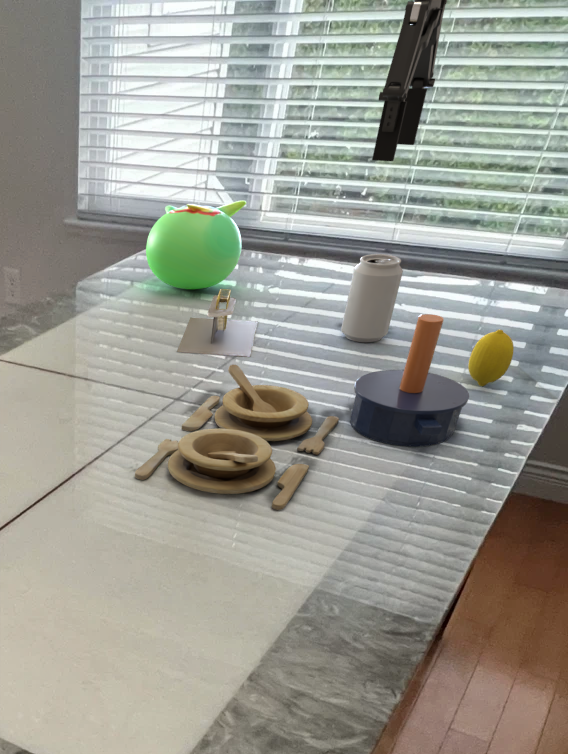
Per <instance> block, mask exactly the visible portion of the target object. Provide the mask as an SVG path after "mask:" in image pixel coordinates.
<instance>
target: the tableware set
mask: <svg viewBox="0 0 568 754" xmlns="http://www.w3.org/2000/svg"><path fill="white" fill-rule="evenodd" d="M227 371H228V374H229V375H230V376H231V378H232V379H233V380H234V381H235V382H236V384H237V385H238V386H239V387H236V388H233V389H230V390H229V391H228V392H226V393H225V394H224V395H223V397H222V405H221V406H220V407H218V408H217V409H216V410H215V413H213V412H212V411H211V410H212V409H213V408H215V407H216V406H217V405H219V403H220V399H221V398H220V396H218V395H211V396H209V397H208V398H207V399H206V400H205V401H204V402H203V403H202V404H201V405H200V406H199V407H198V408H197V409H196V410H195V411H194V412H193V413H192V414H191V415H190V416H189V417H188V418H187V419H186V420H185V421H184V422H183V423H182V424H181V430H182V431H186V432H189V433H187V434H185V435H184V436H183V437H181V438H180V439H179V440H175V439H173V440H172V439H171V438H165V439H164V440H162V441H161V442H160V443H159V444H158V445H157V452H156V453H154V455H152V456H151V457H150V458H149V459H148V460H147V461H145V462H144V463H143V464H142V465H140V466H139V467H138V468H137V469H136V470H135V472H134V478H135V479H137V480H141V481H142V480H143V481H144V480H148V479H149V477H151V476H152V474H153V473H154V472H155V471H156V469H157V468H158V467H159V466H160V464H161V463H162V462H163V461H164V460H165V459H166V458H167V457H168V456H169V458H168V460H167V469H168V473H169V474H170V475H171V476H172V478H174V479H175V480H176V481H178V482H179V483H180V484H182V485H184V486H186V487H189V488H190V489H194V490H197V491H200V492H201V491H202V492H205V493H211V494H220V495H231V494H232V495H235V494H246V493H251V492H255V491H257V490H259V489H263V488H264V487H266V486H267V485H269V484H270V483H271V482H272V481H273V479H274V478H275V475H276V470H277V468H276V464H275V462H274V461H273V459H272V458H271V457H272V455H273V447H272V446H271V445H270V443H269V442H281V441H287V440H291V439H295V438H297V437H298V438H299V437H300V436H303V435H304V434H306V433H307V432H309V430H310V429H311V428H312V425H313V418H312V416H311V414H310V413H309V412H308V410H309V405H310V404H309V403H310V402H309V401H308V399H307V398H306V396H304V395H303V394H301V393H300V392H297V391H295V390H293V389H290V388H288V387H283V386H276V385H270V384H251V382H250V381H249V379H248V378H247V375H246V374H245V373H244V371H243V370H242V368H241V367H240V366H239V365H238V364H230V365H229V366H228V369H227ZM213 416H214V422H215V424H216V425H217V426H218V427H219V428H205V429H200V428H202V427H203V426H204V425H205V424H207V422H208V421H209V420H210V419H211V418H212V417H213ZM339 421H340V418H339V417H338V416H334V415H328V416H327V417H326V418H325V419H324V421H323V422H322V423H321V424H320V427H319V428H318V429H317V430H316V432H315V434H314V436H312V437H310V438H306V439H304V440H302V441H301V443H300V444H298V446H297V447H296V450H297V451H299V452H304V451H305V453H307V454H310V453H312V454H313V455H316V456H319V454H321V452H323V450H324V449H325V446H326V445H325V442H324V441H323V440H324V439H325V438H327V437H328V435H329V434H331V432H332V431H333V430H334V428H336V427H337V425H338V424H339ZM309 468H310V465H308V464H305V463H294V464H292V465H291V466H289V467H288V468H287V469H286V470H284V472H283V473H282V475H281V476H280V478H279V479H278V480H277V482H276V483H277V486H278V487H279V488H280V489H281V491H280V492H279V493H278V494H277V495H276V496H275V497H274V499H273V500H272V502H271V508H272V509H273V510H275V511H276V510H277V511H282V510H284V508H286V506H287V505H288V503H289V502H290V500H291V498H292V497H293V495H294V494H295V492H296V491H297V489H298V487H299V486H300V484H301V483H302V481H303V480H304V478H305V477H306V475H307V473H308V472H309Z"/></svg>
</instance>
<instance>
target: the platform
mask: <svg viewBox="0 0 568 754" xmlns="http://www.w3.org/2000/svg"><path fill="white" fill-rule="evenodd" d="M222 291H224V292H225V293H226V294H227V295H225V294H223V293H222ZM231 292H232V289H224V288H220V289H219V292H218V295H217V294H215V295H213V297H212V300H211V302H210V304H209V307H208V310H207V317H208V318H205V317H189V319H188V322H187V324H186V327H185V330H184V332H183V335H182V338H181V340H180V343H179V345H178V347H177V349H176V353H187V354H188V353H189V354H202V355H203V354H204V355H205V354H206V355H219V356H234V357H246V358H247V357H251V355H252V350H253V347H254V346H253V345H254V341H255V337H256V332H257V329H258V323H259V322H258V320H244V319H243V320H241V319H228V316H231V315H233V314H234V311H235V306H236V302H237V299H236V298H235V297H231ZM221 303H222V304H223V303H224V304H226V305H225V308H220V304H221Z"/></svg>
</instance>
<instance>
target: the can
mask: <svg viewBox="0 0 568 754" xmlns="http://www.w3.org/2000/svg"><path fill="white" fill-rule="evenodd" d="M359 260H360V262H358V264H356V266H355V267H354V268H353V270H352V276H351V281H350V285H349V290H348V294H347V300H346V304H345V310H344V313H343V319H342V323H341V329H340V330H341V331H340V332H341V333H342V334H343V335H344V337H345V338H346V339H348V340H350V341H353V342H357V343H374V342H379V341H380V340H381V339H382V338H384V337H385V336H387V335H388V333H389V329H390V325H391V322H392V321H391V320H392V317H393V313H394V309H395V305H396V301H397V297H398V292H399V289H400V284H401V281H402V277H403V273H404V270H403V268H402V267H401V265H400V264H401V263H402V259H401V258H400V257H397V256H395V255H391V254H382V253H371V254H365V255H362V256H361V257H360V258H359Z"/></svg>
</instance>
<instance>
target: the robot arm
mask: <svg viewBox="0 0 568 754" xmlns="http://www.w3.org/2000/svg"><path fill="white" fill-rule="evenodd" d="M447 2H448V0H409V1H407V3H406V5H405V11H404V16H403V20H402V23H401V28H400V30H399V35H398V39H397V42H396V45H395V49H394V52H393V55H392V60H391V63H390V66H389V70H388V73H387V77H386V80H385V84H384V88H383V89H382V91H380V92H379V95H378V101H379V102H383V106H382V111H381V116H380V120H379V126H378V130H377V135H376V140H375V144H374V149H373V152H372V153H373V154H372V158H371V161H378V162H380V161H381V162H394V160H395V156H396V152H397V147H398V145H405V146H414V145H415V143H416V138H417V134H418V131H419V125H420V121H421V118H422V113H423V109H424V104H425V101H426V97H427V96H426V95H427V91H428V88H430V89H432V88H434V86H435V82H436V78H433V77H434V74H435V72H434V70H435V64H436V58H437V53H438V47H439V42H440V35H441V31H442V30H441V29H442V23H443V17H444V13H445V8H446V5H447Z"/></svg>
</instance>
